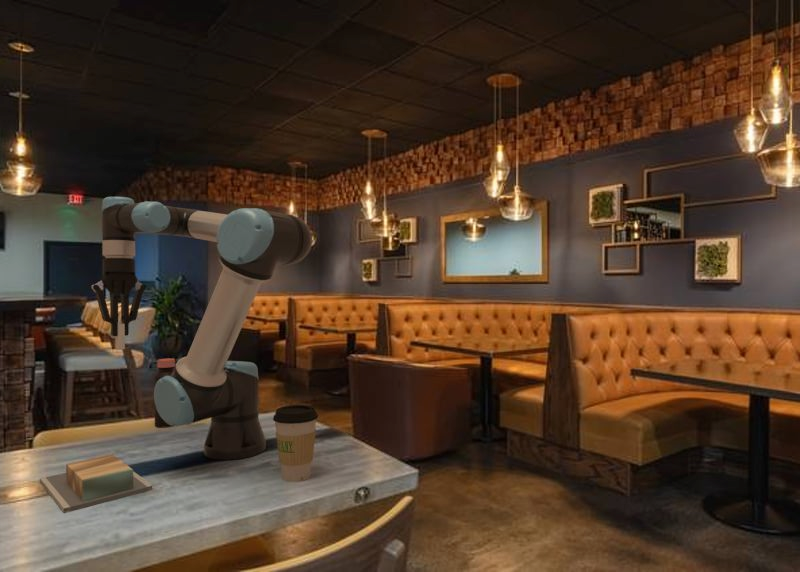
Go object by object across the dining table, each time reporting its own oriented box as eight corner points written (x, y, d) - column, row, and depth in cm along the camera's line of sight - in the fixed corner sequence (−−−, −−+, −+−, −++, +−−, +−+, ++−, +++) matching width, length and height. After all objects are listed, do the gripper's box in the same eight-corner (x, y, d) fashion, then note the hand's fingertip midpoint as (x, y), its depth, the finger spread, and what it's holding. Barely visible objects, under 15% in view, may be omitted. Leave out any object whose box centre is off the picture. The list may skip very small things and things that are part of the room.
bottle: (149, 426, 161) (148, 360, 161) (167, 421, 168) (166, 357, 167) (166, 428, 159) (165, 361, 159) (183, 423, 165) (183, 358, 165)
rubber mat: (40, 482, 116) (39, 478, 116) (119, 464, 127) (119, 460, 127) (63, 512, 100) (63, 508, 100) (152, 489, 111) (152, 485, 111)
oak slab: (66, 463, 114) (83, 481, 104) (112, 454, 120) (133, 469, 110) (66, 482, 114) (83, 501, 104) (112, 471, 120) (133, 488, 110)
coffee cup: (277, 469, 123) (276, 404, 123) (320, 468, 124) (319, 403, 124) (270, 485, 113) (269, 415, 113) (317, 484, 114) (316, 414, 114)
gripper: (140, 258, 145) (141, 345, 145) (86, 257, 136) (87, 349, 136) (150, 257, 140) (151, 347, 140) (95, 256, 131) (96, 352, 131)
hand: (120, 348), depth 138 cm, fingers closed
